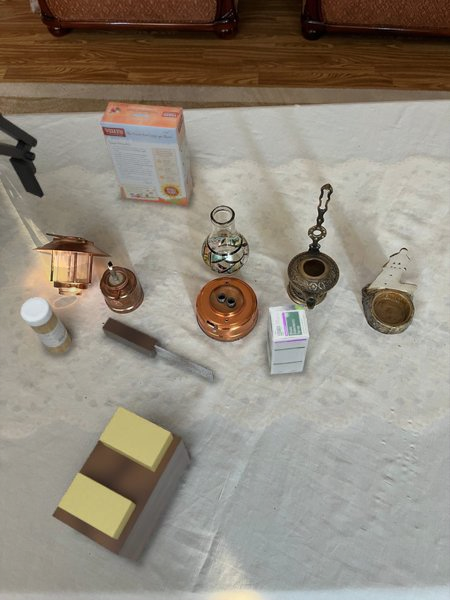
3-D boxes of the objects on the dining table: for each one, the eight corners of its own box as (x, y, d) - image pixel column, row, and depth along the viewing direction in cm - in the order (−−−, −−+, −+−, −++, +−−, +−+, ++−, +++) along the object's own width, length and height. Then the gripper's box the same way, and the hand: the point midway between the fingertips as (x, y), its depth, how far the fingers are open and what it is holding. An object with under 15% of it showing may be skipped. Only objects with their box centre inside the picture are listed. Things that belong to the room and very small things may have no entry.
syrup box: (303, 373, 90) (312, 336, 77) (268, 376, 90) (272, 339, 77) (298, 342, 93) (306, 302, 80) (264, 345, 92) (267, 306, 80)
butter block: (104, 444, 71) (98, 439, 68) (123, 412, 73) (119, 405, 70) (154, 472, 69) (151, 467, 66) (173, 438, 71) (170, 432, 68)
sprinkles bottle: (60, 328, 96) (34, 290, 84) (78, 341, 94) (54, 304, 82) (42, 347, 94) (13, 311, 82) (60, 360, 92) (33, 326, 81)
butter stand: (81, 528, 79) (51, 515, 67) (137, 433, 86) (119, 406, 73) (138, 562, 76) (117, 555, 64) (191, 461, 83) (181, 438, 71)
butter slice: (64, 509, 67) (57, 505, 64) (84, 476, 69) (78, 471, 66) (117, 539, 65) (112, 537, 62) (136, 505, 67) (132, 501, 64)
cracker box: (194, 186, 111) (183, 106, 93) (188, 208, 108) (176, 129, 90) (130, 179, 113) (108, 98, 95) (123, 200, 110) (98, 122, 92)
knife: (107, 337, 94) (101, 327, 91) (114, 327, 95) (109, 316, 92) (209, 387, 89) (208, 378, 86) (216, 375, 90) (215, 366, 87)
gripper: (-138, 197, 49) (-33, 306, 67) (26, 44, 60) (78, 174, 78) (-194, 171, 51) (-77, 284, 69) (-24, 27, 61) (38, 159, 80)
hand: (5, 226), depth 74 cm, fingers open, 13 cm apart
